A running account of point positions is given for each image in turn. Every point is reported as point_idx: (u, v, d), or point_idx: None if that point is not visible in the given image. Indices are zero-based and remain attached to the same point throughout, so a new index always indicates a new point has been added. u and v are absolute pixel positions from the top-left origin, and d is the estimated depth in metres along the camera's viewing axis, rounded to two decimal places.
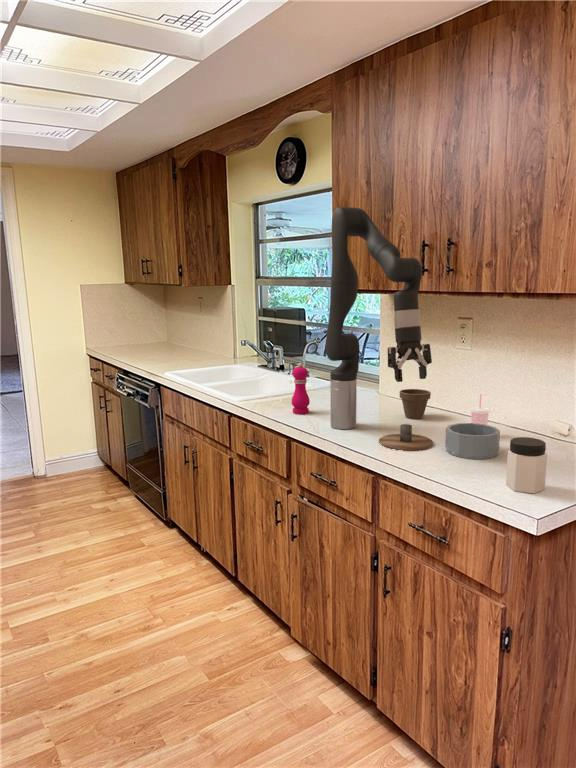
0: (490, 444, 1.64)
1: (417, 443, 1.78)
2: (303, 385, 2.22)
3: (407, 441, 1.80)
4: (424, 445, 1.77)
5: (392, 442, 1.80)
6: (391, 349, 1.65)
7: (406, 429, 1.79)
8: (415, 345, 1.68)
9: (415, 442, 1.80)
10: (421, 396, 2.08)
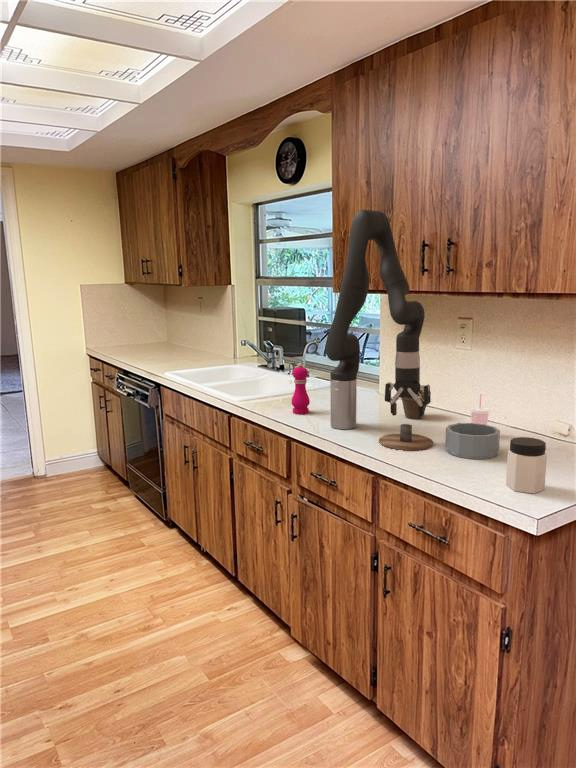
0: (490, 444, 1.64)
1: (418, 443, 1.78)
2: (303, 385, 2.22)
3: (407, 441, 1.80)
4: (424, 445, 1.77)
5: (393, 442, 1.80)
6: None
7: (406, 429, 1.79)
8: (411, 385, 1.76)
9: (415, 441, 1.80)
10: (421, 396, 2.08)
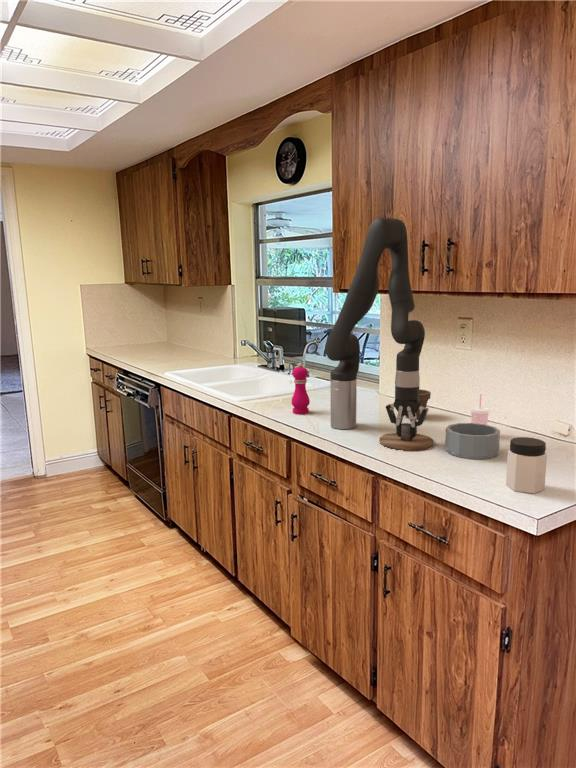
0: (490, 444, 1.64)
1: (418, 442, 1.78)
2: (303, 385, 2.22)
3: (408, 440, 1.80)
4: (425, 444, 1.76)
5: (393, 441, 1.80)
6: None
7: (407, 428, 1.79)
8: (410, 403, 1.77)
9: (416, 440, 1.80)
10: (421, 396, 2.08)
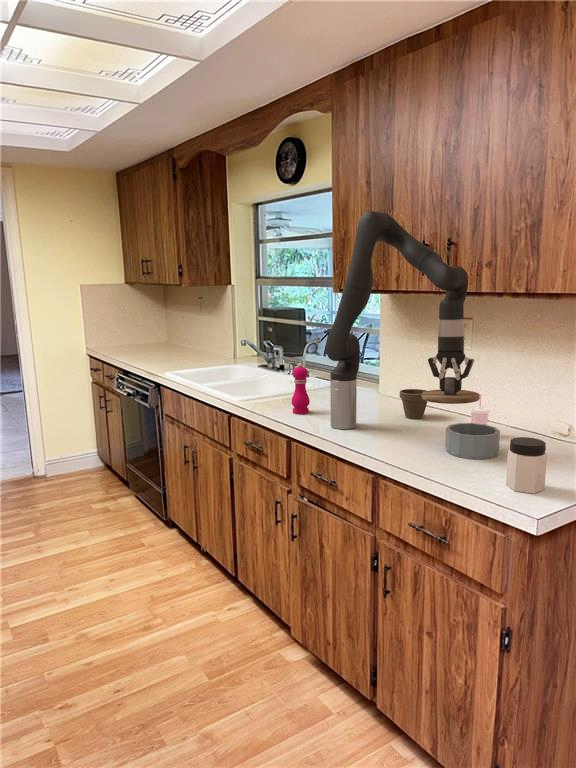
0: (490, 444, 1.64)
1: (464, 395, 1.68)
2: (303, 385, 2.22)
3: (452, 394, 1.70)
4: (471, 396, 1.66)
5: (437, 395, 1.70)
6: None
7: (451, 381, 1.69)
8: (455, 355, 1.68)
9: (460, 394, 1.70)
10: None
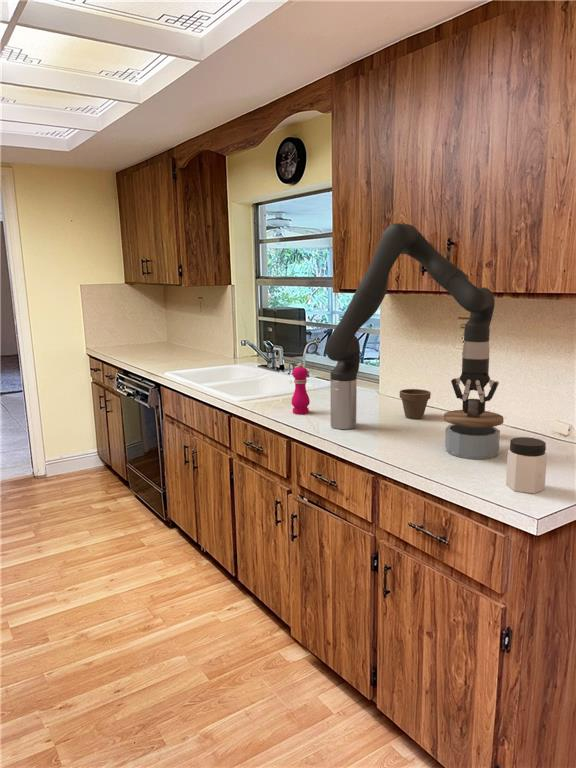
0: (490, 444, 1.64)
1: (487, 418, 1.66)
2: (303, 385, 2.22)
3: (475, 416, 1.68)
4: (495, 419, 1.65)
5: (460, 417, 1.68)
6: None
7: (475, 403, 1.67)
8: (479, 377, 1.66)
9: (484, 417, 1.68)
10: (421, 396, 2.08)
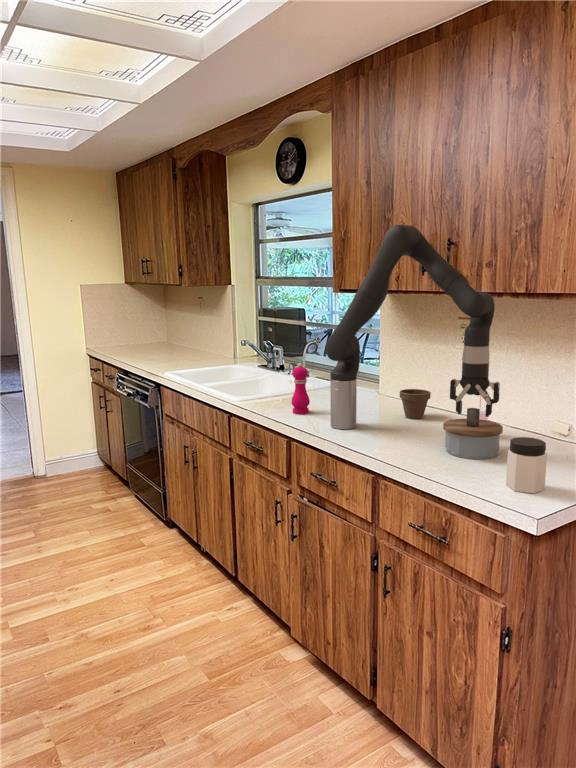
0: (490, 444, 1.64)
1: (487, 428, 1.67)
2: (303, 385, 2.22)
3: (475, 426, 1.68)
4: (495, 429, 1.65)
5: (459, 427, 1.69)
6: None
7: (475, 413, 1.68)
8: (479, 381, 1.66)
9: (483, 426, 1.69)
10: (421, 396, 2.08)
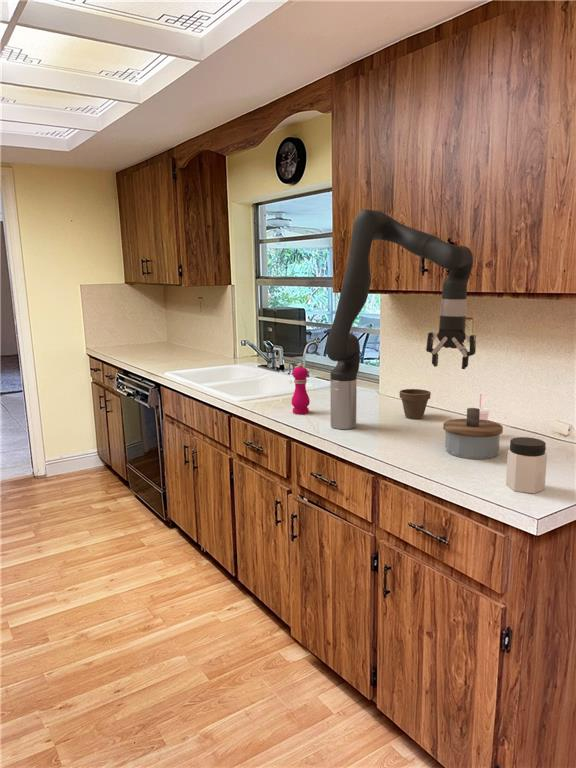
0: (490, 444, 1.64)
1: (487, 428, 1.67)
2: (303, 385, 2.22)
3: (475, 426, 1.68)
4: (495, 429, 1.65)
5: (459, 427, 1.69)
6: None
7: (475, 413, 1.68)
8: (455, 334, 1.69)
9: (483, 426, 1.69)
10: (421, 396, 2.08)
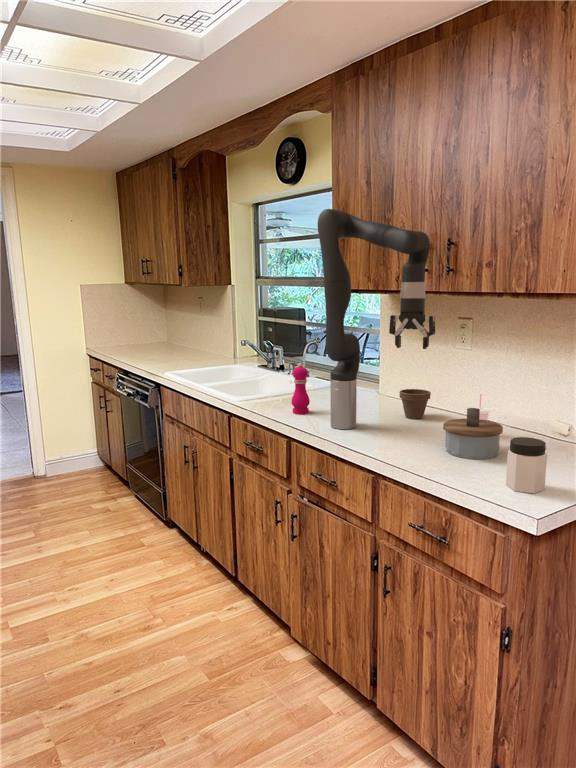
0: (490, 444, 1.64)
1: (487, 428, 1.67)
2: (303, 385, 2.22)
3: (475, 426, 1.68)
4: (495, 429, 1.65)
5: (459, 427, 1.69)
6: None
7: (475, 413, 1.68)
8: (416, 316, 1.77)
9: (483, 426, 1.69)
10: (421, 396, 2.08)
